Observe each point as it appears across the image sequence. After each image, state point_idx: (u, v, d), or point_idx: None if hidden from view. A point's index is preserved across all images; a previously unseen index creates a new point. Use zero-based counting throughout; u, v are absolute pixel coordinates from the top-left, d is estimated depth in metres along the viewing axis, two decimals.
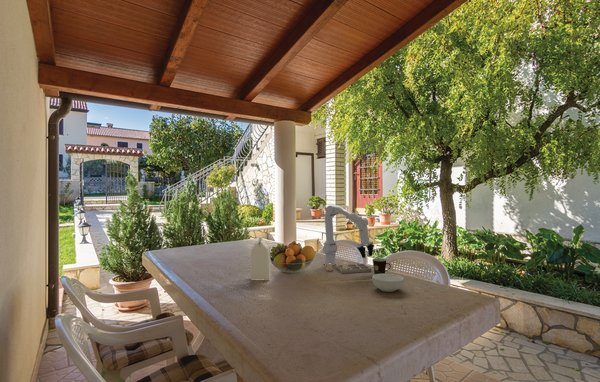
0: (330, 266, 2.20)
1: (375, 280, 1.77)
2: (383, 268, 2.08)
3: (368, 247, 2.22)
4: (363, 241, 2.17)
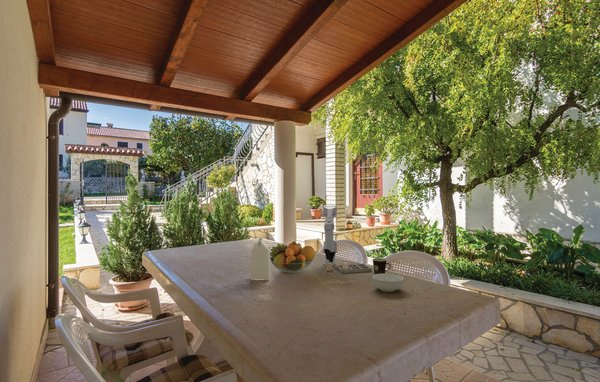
0: (330, 266, 2.20)
1: (375, 280, 1.77)
2: (383, 268, 2.08)
3: None
4: None
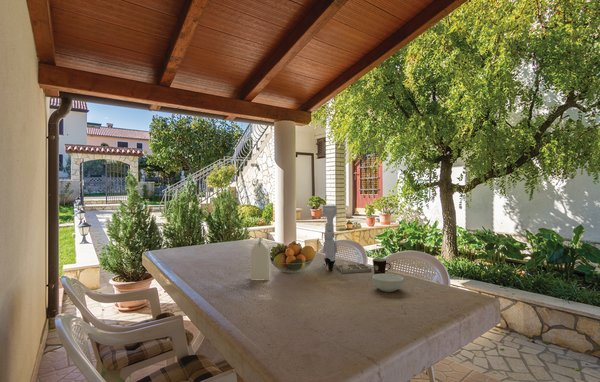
0: None
1: (375, 280, 1.77)
2: (383, 268, 2.08)
3: None
4: None
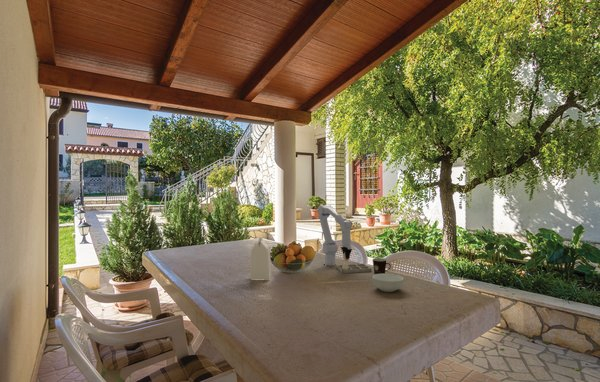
0: None
1: (375, 280, 1.77)
2: (383, 268, 2.08)
3: None
4: None
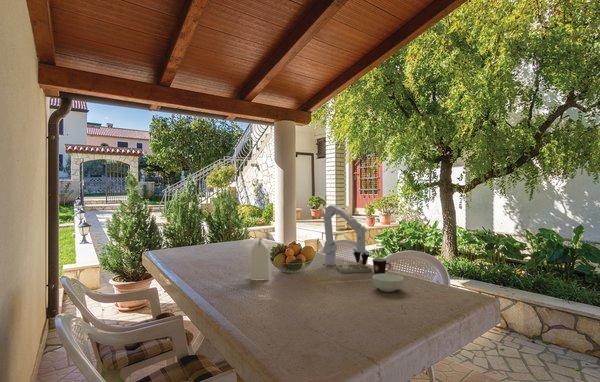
0: (362, 262, 2.26)
1: (375, 280, 1.77)
2: (383, 268, 2.08)
3: None
4: None
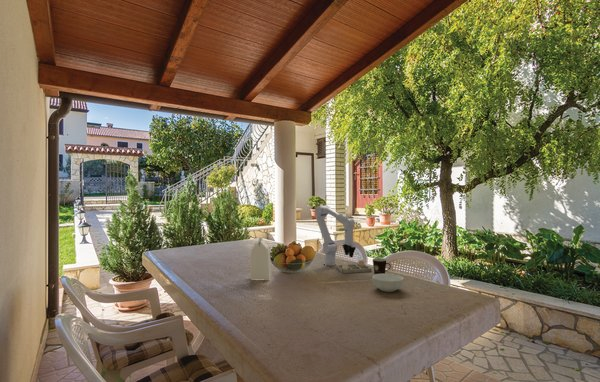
0: (362, 262, 2.25)
1: (375, 280, 1.77)
2: (383, 268, 2.08)
3: None
4: None
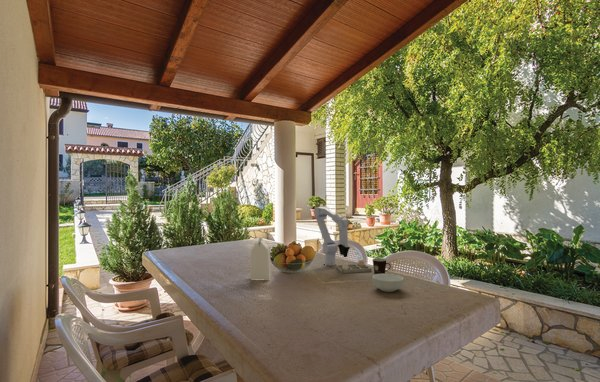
0: (362, 262, 2.25)
1: (375, 280, 1.77)
2: (383, 268, 2.08)
3: None
4: None
